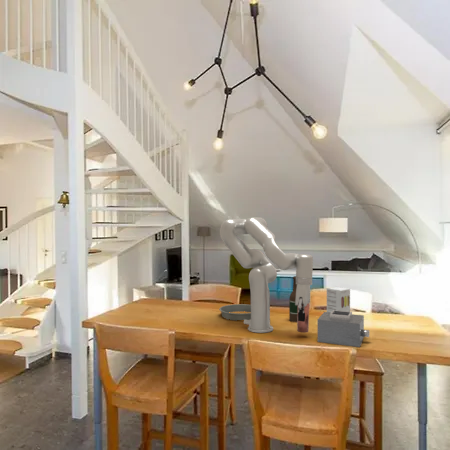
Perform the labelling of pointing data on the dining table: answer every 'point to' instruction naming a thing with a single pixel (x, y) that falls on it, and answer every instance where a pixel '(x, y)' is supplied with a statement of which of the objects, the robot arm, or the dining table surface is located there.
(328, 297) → the supplement box
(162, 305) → the dining table surface
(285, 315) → the dining table surface
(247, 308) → the cake pan
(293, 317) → the beer bottle
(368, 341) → the dining table surface
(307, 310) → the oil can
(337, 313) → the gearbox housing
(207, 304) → the dining table surface
